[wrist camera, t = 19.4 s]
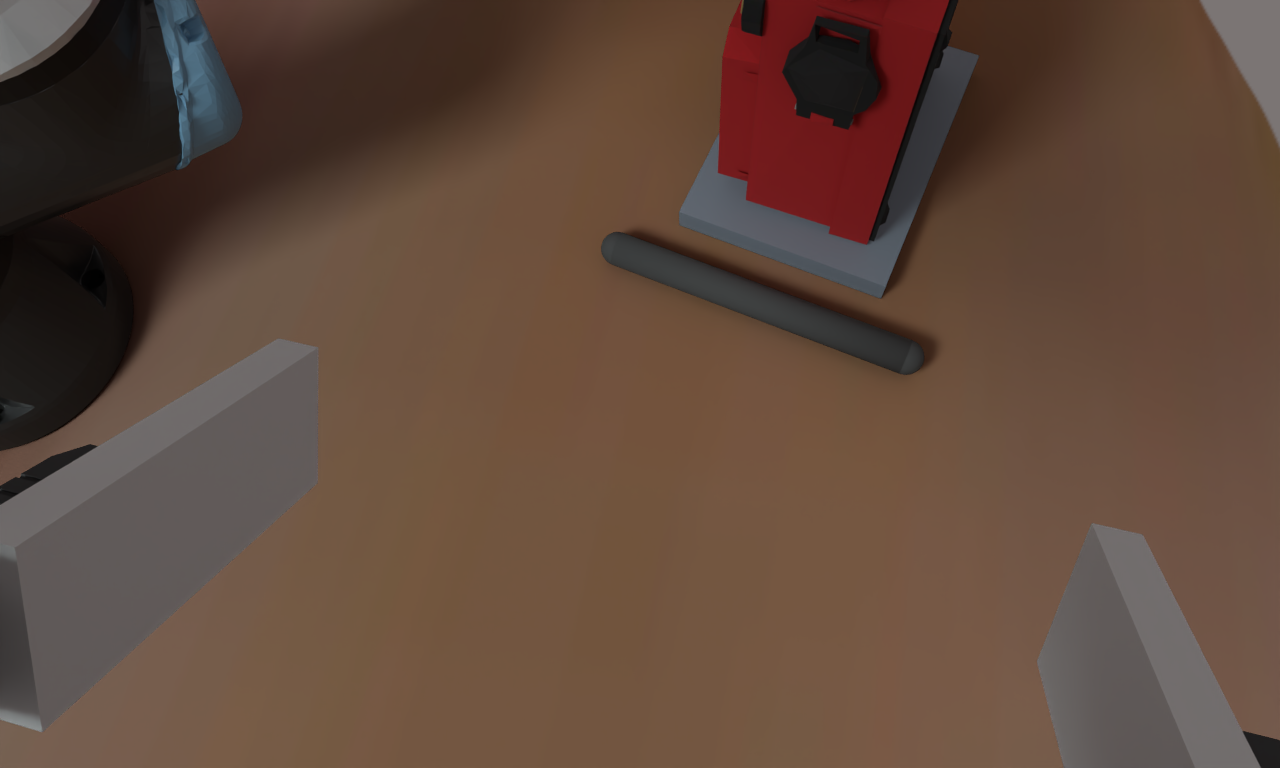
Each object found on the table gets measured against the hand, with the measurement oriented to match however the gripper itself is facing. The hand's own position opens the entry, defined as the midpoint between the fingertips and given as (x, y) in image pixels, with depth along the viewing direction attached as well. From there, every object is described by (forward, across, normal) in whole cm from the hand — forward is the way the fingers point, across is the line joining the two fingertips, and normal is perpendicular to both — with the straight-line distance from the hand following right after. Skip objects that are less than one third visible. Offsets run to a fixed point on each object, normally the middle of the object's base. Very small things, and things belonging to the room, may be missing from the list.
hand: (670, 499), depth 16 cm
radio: (+48, +1, 0) cm, 48 cm away
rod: (+41, -1, -10) cm, 42 cm away
